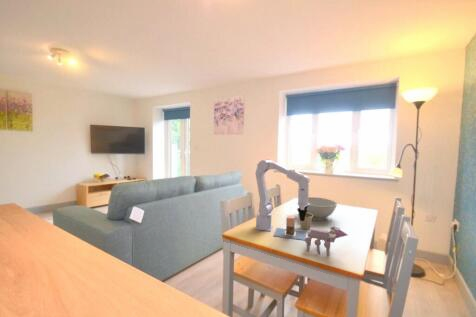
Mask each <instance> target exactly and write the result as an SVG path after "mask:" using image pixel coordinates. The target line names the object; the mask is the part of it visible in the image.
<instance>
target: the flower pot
mask: <svg viewBox="0 0 476 317" xmlns="http://www.w3.org/2000/svg"><path fill="white" fill-rule="evenodd" d="M297 215H298V219H299V228H300V229H302V230H311V225H312V220H313V219H312V217H313V215H312V214H310V213H306V215H305V220H304V221H300V216H299V213H298V214H297Z"/></svg>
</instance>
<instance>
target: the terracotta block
mask: <svg viewBox="0 0 476 317" xmlns="http://www.w3.org/2000/svg"><path fill="white" fill-rule="evenodd" d="M285 221H286V222H285V223H286V225H285V226H290V227H294V225H296V216H294V215H287V216H286V220H285Z"/></svg>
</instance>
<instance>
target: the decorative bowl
mask: <svg viewBox="0 0 476 317" xmlns="http://www.w3.org/2000/svg"><path fill="white" fill-rule="evenodd" d="M308 203H310V205H308V207H307V210H308V211H307V212H306V213H310V214H312V215H313V217H312V220H314V221H324V220H326V218H328V217H330V216H331V215H333V213H334V212H335V210H336V208H337V205H338V204H337V202H336V201H335V200H332V199H329V198H325V197H315V196H308Z"/></svg>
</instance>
